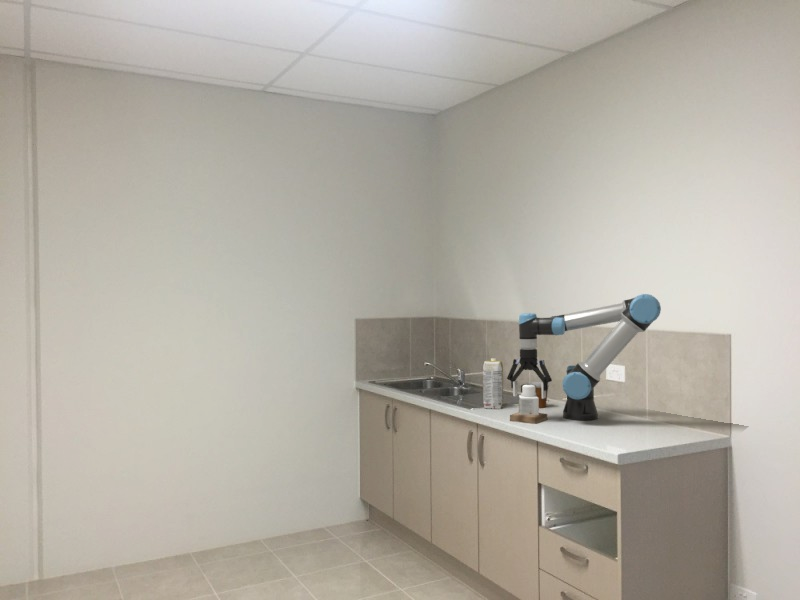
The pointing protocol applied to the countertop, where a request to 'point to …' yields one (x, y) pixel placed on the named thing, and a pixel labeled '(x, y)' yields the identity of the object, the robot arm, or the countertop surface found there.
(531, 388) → the container
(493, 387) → the juice carton
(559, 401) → the countertop surface
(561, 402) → the countertop surface
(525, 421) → the stand
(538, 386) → the disposable coffee cup
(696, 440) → the countertop surface
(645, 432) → the countertop surface
